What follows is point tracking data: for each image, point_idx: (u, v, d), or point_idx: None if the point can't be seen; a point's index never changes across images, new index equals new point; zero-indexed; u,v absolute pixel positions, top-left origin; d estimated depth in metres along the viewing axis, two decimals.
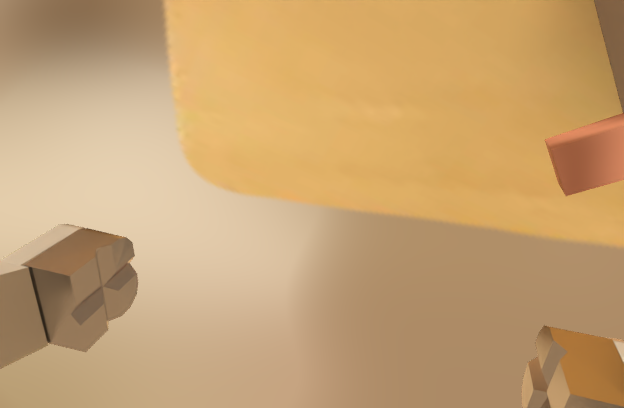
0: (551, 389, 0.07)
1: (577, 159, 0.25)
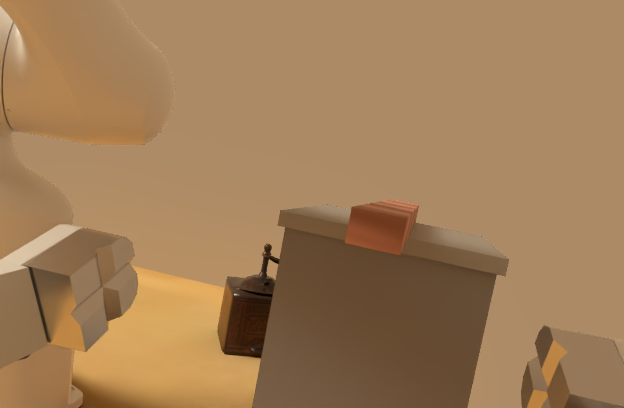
0: (551, 389, 0.07)
1: (372, 209, 0.25)
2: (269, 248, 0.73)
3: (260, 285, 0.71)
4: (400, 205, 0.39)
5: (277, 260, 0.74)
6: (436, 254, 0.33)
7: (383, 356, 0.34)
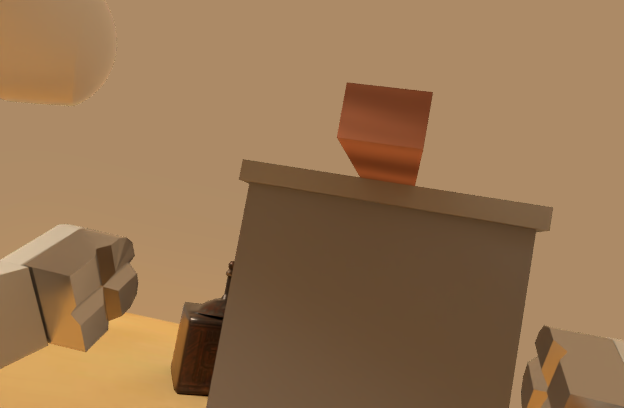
0: (551, 389, 0.07)
1: None
2: None
3: (222, 308, 0.60)
4: None
5: None
6: (454, 206, 0.24)
7: (385, 354, 0.25)
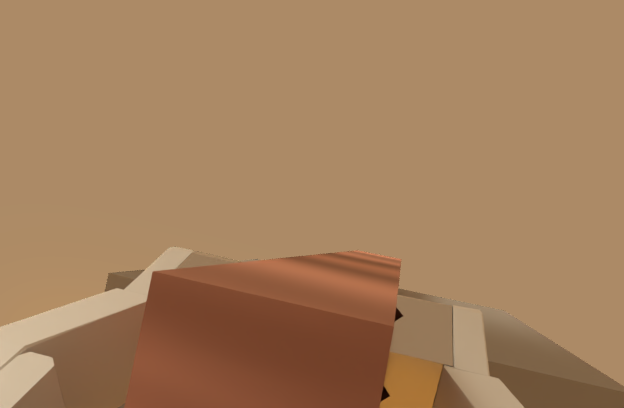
0: None
1: (255, 281, 0.07)
2: None
3: None
4: (370, 260, 0.20)
5: None
6: None
7: None
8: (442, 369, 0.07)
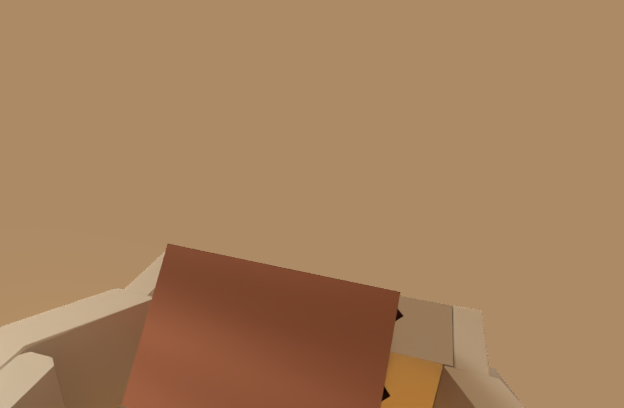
0: None
1: None
2: None
3: None
4: None
5: None
6: None
7: None
8: (442, 369, 0.07)
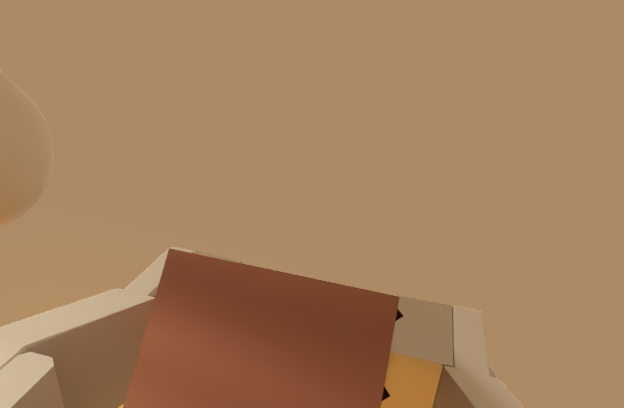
0: None
1: None
2: None
3: None
4: None
5: None
6: None
7: None
8: (442, 369, 0.07)
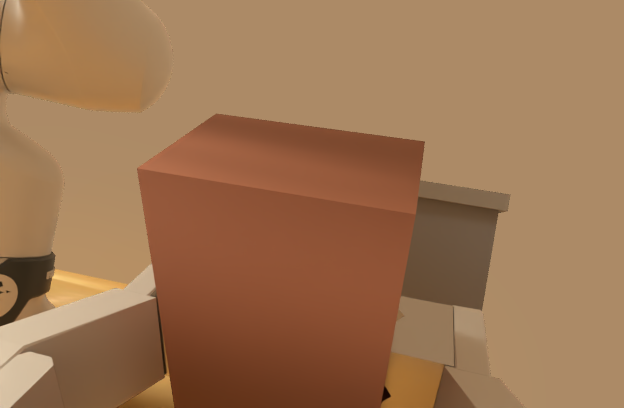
0: None
1: None
2: None
3: None
4: None
5: None
6: (439, 193, 0.34)
7: None
8: (443, 369, 0.07)
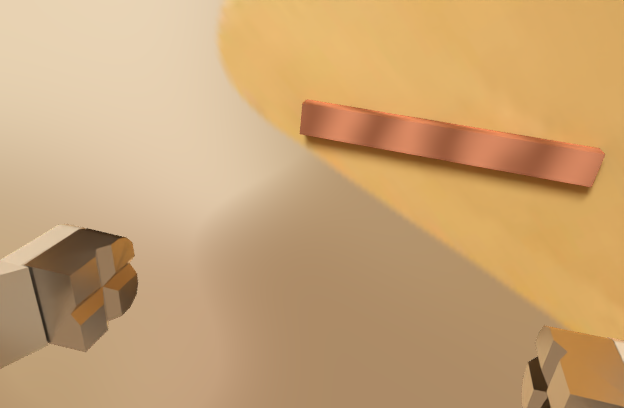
0: (551, 389, 0.07)
1: (312, 115, 0.43)
2: None
3: None
4: (460, 149, 0.40)
5: None
6: None
7: None
8: None
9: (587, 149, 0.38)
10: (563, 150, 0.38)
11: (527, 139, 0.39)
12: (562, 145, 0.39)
